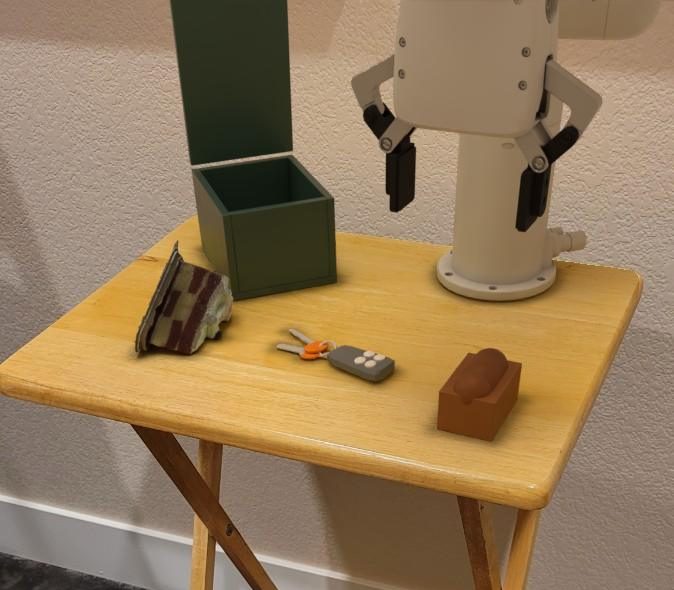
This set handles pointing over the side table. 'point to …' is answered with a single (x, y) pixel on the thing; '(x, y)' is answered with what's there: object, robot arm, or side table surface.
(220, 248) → the box
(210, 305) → the chocolate cake
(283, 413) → the side table surface
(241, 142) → the bread lid
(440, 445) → the side table surface
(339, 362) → the key chain
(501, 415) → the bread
